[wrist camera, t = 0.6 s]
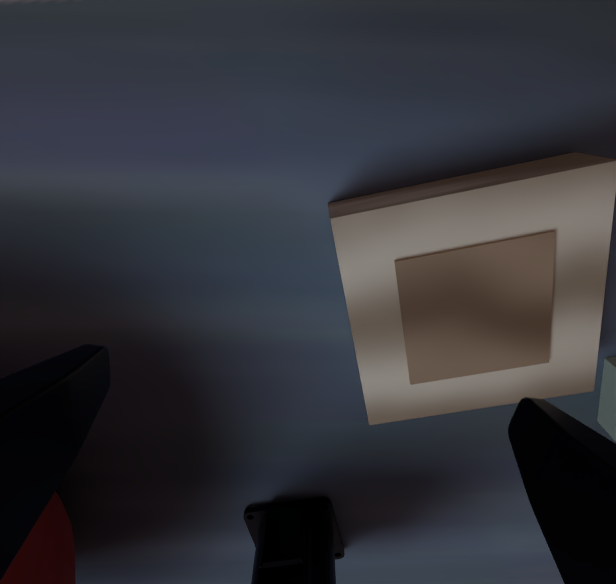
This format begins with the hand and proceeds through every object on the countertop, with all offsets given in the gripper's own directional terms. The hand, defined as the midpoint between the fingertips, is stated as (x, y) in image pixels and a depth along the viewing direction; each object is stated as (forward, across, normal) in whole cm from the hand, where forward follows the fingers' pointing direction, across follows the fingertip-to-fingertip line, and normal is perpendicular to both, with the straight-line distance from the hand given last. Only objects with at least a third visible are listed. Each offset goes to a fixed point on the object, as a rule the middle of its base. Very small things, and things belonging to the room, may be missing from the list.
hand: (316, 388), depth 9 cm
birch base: (+13, -8, +2) cm, 16 cm away
